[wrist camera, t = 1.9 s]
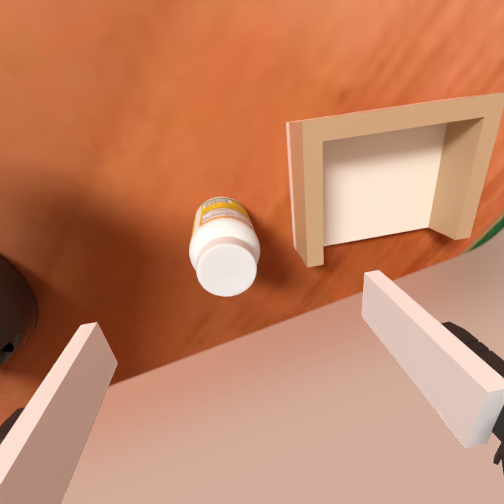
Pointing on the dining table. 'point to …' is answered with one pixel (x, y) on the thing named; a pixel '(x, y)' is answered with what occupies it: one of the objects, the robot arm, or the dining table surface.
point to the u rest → (389, 171)
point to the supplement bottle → (224, 247)
